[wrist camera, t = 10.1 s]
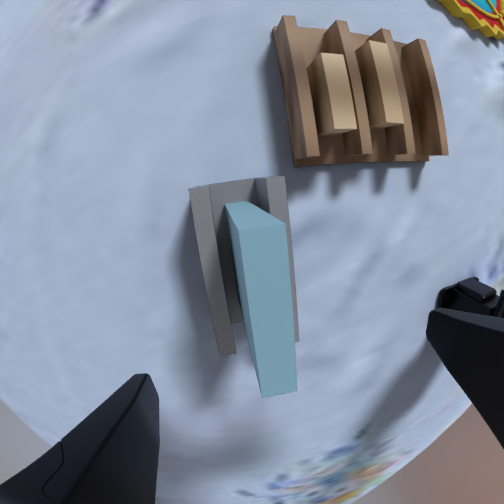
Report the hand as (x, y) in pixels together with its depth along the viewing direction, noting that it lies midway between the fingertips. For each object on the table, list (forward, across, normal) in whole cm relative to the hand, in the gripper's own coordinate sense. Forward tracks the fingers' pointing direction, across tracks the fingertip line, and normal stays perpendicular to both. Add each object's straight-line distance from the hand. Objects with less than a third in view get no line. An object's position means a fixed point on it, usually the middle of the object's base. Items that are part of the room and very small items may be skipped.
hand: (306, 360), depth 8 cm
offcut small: (+12, -6, -10) cm, 17 cm away
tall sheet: (+12, 0, 0) cm, 12 cm away
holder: (+13, +1, 0) cm, 13 cm away
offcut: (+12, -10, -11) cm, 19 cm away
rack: (+13, -10, -11) cm, 20 cm away
